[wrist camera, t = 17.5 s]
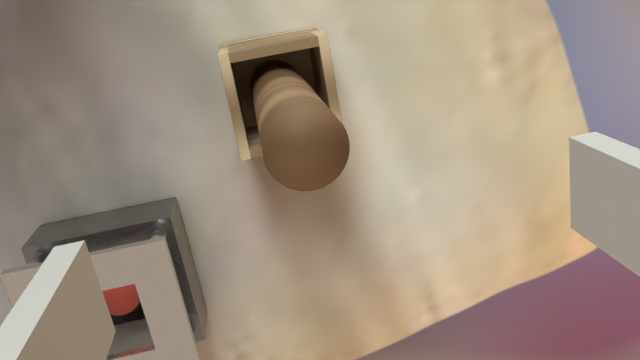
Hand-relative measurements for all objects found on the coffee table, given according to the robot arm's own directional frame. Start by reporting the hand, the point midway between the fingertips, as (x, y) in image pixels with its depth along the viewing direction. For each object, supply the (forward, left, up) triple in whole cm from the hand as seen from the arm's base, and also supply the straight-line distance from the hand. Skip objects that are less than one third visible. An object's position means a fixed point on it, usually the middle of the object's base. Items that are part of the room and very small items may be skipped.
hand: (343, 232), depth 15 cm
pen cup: (0, 0, -28) cm, 28 cm away
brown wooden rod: (0, 0, -27) cm, 27 cm away
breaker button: (+12, -14, -26) cm, 32 cm away
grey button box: (+12, -14, -28) cm, 33 cm away
